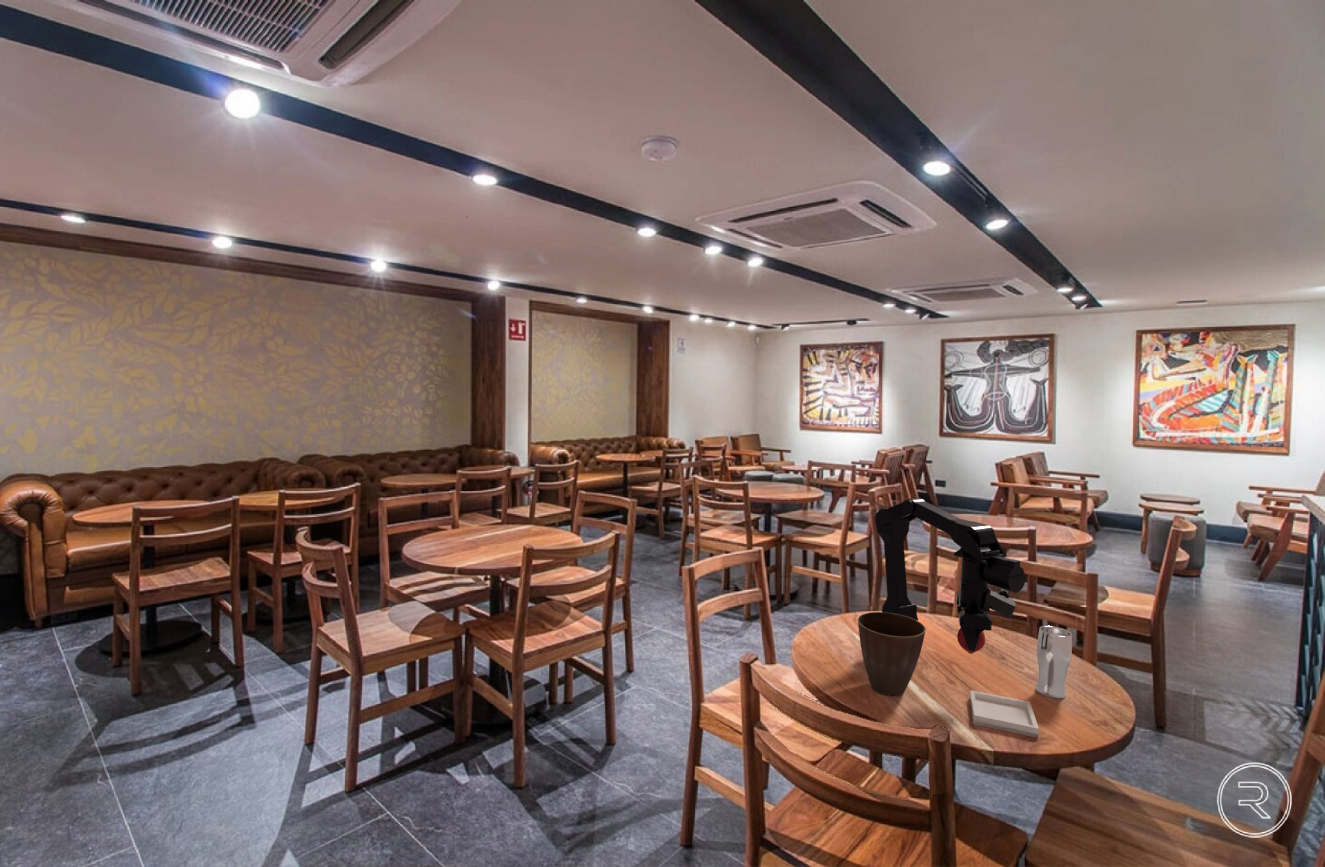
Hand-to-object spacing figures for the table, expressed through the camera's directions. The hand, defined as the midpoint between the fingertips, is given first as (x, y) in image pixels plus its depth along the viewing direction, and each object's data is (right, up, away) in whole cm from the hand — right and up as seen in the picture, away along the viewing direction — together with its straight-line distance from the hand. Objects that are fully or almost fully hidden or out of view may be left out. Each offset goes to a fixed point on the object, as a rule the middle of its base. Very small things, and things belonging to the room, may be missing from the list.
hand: (970, 645), depth 144 cm
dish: (+3, -13, -8) cm, 15 cm away
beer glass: (+21, -13, +4) cm, 25 cm away
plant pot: (-18, -12, +4) cm, 22 cm away
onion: (0, -2, 0) cm, 2 cm away
